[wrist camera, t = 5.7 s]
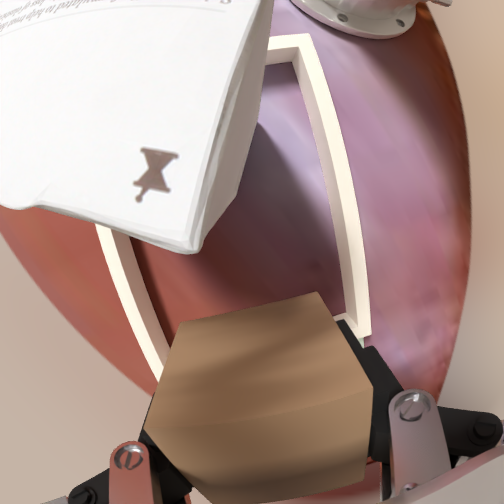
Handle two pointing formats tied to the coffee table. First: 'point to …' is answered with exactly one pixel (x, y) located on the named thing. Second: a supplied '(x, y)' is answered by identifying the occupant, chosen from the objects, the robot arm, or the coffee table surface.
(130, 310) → the cream rectangular frame
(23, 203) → the skincare box
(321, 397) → the walnut block
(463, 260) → the coffee table surface
